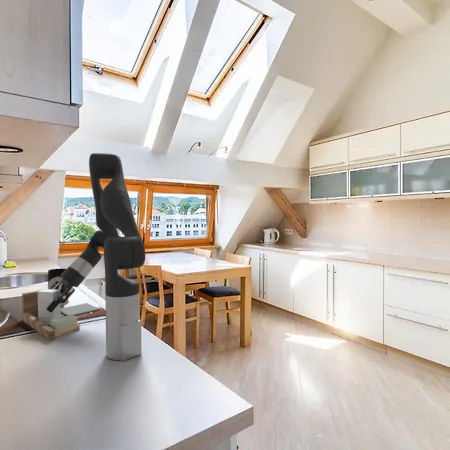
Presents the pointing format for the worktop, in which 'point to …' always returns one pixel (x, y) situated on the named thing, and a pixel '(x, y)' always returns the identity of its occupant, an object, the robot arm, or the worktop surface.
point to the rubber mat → (78, 309)
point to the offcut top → (63, 322)
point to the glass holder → (55, 279)
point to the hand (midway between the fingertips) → (44, 308)
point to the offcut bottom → (66, 330)
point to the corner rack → (34, 315)
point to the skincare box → (43, 302)
